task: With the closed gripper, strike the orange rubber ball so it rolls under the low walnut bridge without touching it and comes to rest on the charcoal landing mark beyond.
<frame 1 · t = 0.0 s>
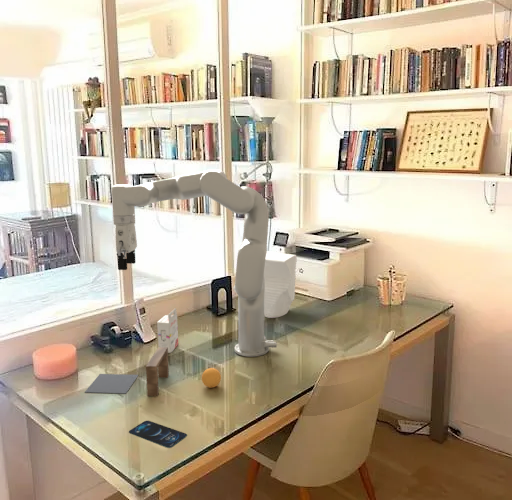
hand: (127, 266, 196), 31 cm above the table, tool pointing down, fingers open, 9 cm apart
white curved block: (269, 310, 245), on the table
bridge: (158, 385, 171), on the table
smartphone: (157, 435, 144), on the table
ball: (211, 377, 169), on the table
landing mark: (112, 383, 173), on the table
ink cartridge box: (168, 349, 201), on the table
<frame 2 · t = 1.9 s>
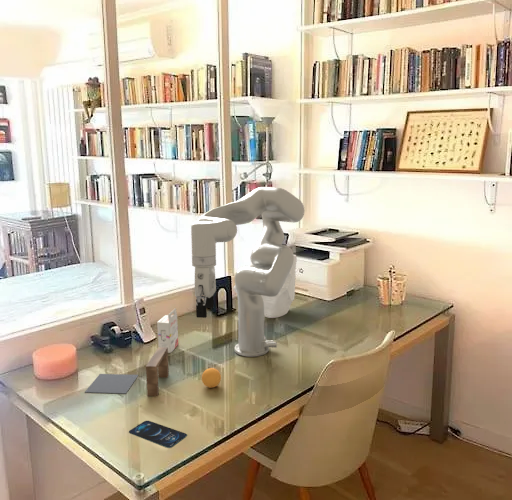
hand: (205, 312, 173), 22 cm above the table, tool pointing down, fingers open, 9 cm apart
nothing on the table moved.
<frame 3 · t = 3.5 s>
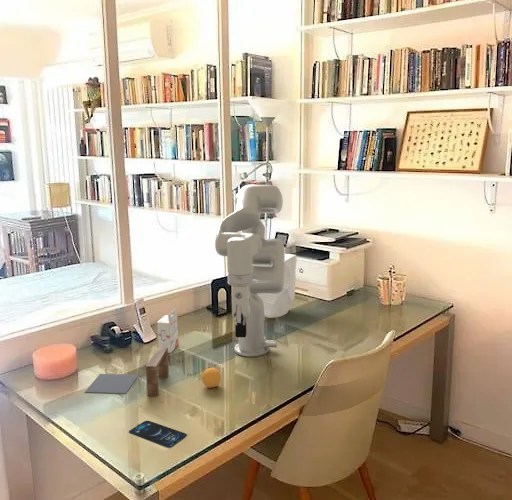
hand: (240, 336, 166), 17 cm above the table, tool pointing down, fingers closed
nothing on the table moved.
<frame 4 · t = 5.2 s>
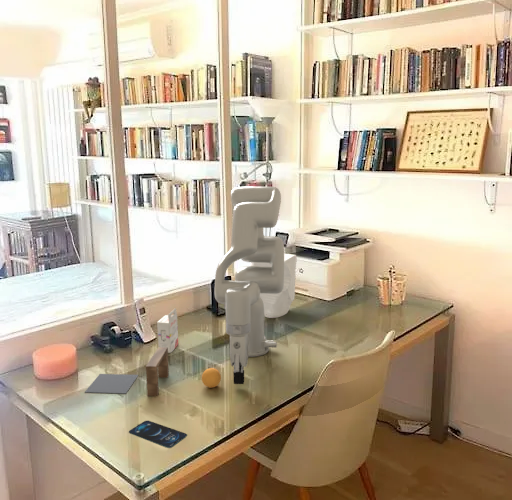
hand: (239, 382, 169), 2 cm above the table, tool pointing down, fingers closed
nothing on the table moved.
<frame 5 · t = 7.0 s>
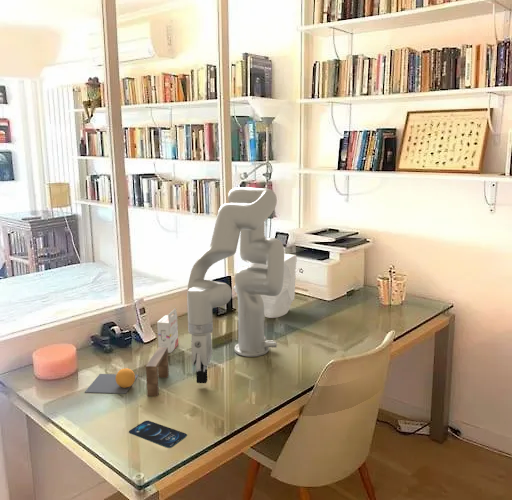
hand: (202, 381, 170), 2 cm above the table, tool pointing down, fingers closed
ball: (125, 378, 170), on the table
everything else where it was.
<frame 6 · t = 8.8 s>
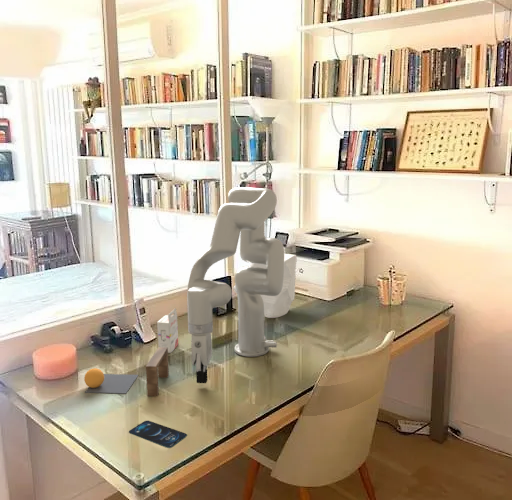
hand: (202, 381, 170), 2 cm above the table, tool pointing down, fingers closed
ball: (94, 378, 170), on the table
everything else where it was.
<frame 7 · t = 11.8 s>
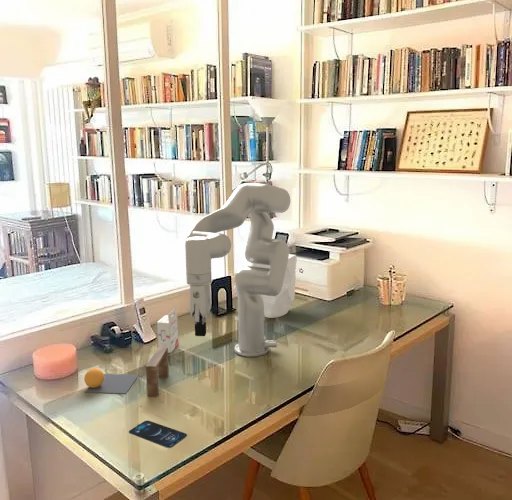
hand: (200, 335, 167), 17 cm above the table, tool pointing down, fingers closed
nothing on the table moved.
at the end: ball 5.4 cm from the landing mark (horizontally); ball never touched bridge; ball at rest at the end (0.0 cm/s) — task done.
